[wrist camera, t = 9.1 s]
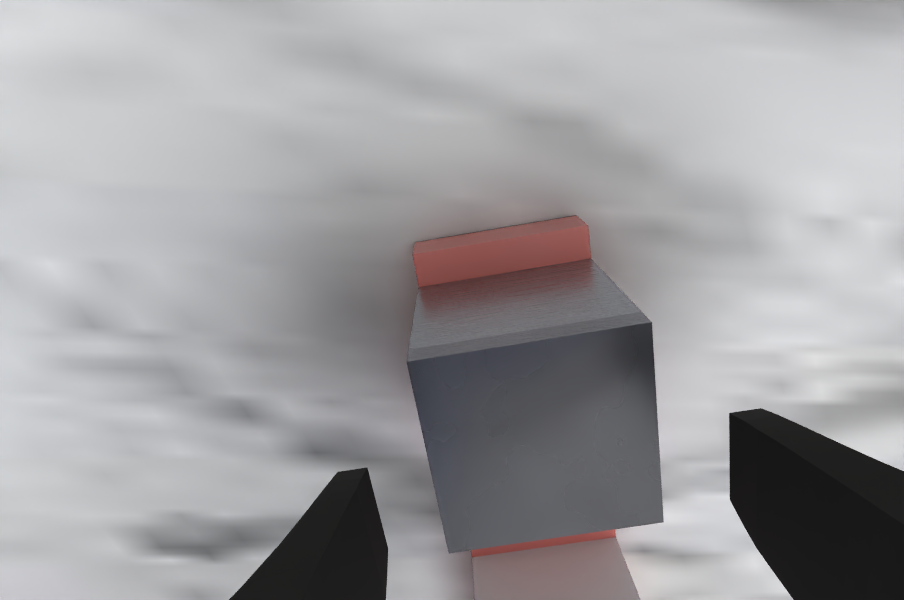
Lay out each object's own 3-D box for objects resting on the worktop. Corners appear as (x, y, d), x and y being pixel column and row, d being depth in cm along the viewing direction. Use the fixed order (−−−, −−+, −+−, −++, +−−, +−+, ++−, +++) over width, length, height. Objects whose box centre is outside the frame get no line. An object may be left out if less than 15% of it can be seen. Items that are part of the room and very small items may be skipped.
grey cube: (604, 410, 17) (663, 522, 13) (448, 434, 18) (449, 553, 13) (590, 258, 16) (651, 321, 11) (418, 287, 16) (406, 361, 11)
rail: (615, 627, 22) (679, 823, 16) (493, 644, 23) (510, 843, 17) (576, 215, 17) (650, 276, 11) (415, 242, 17) (398, 317, 11)
